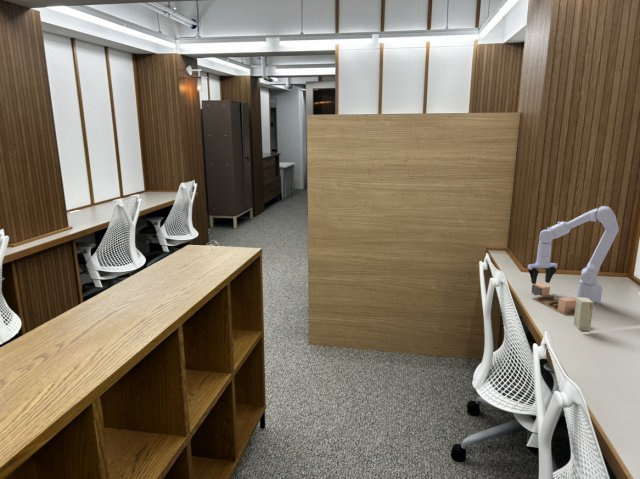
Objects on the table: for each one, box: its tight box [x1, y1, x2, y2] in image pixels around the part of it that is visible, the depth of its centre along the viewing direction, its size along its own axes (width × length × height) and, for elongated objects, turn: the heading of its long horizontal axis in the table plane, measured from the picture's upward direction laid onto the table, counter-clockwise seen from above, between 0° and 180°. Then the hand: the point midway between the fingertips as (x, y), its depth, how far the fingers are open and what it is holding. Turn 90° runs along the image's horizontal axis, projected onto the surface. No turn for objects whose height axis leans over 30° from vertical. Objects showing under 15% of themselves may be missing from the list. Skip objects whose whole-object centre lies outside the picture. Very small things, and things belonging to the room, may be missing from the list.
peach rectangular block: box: [531, 282, 551, 296], centre depth 224 cm, size 5×7×5 cm, turn 14°
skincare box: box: [573, 296, 594, 333], centre depth 183 cm, size 6×4×12 cm
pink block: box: [558, 296, 577, 312], centre depth 202 cm, size 7×5×5 cm, turn 104°
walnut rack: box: [531, 293, 575, 317], centre depth 207 cm, size 13×22×2 cm, turn 14°
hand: (540, 282), depth 223 cm, fingers open, 7 cm apart
